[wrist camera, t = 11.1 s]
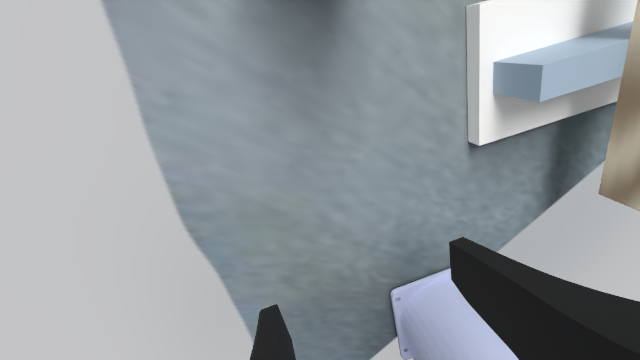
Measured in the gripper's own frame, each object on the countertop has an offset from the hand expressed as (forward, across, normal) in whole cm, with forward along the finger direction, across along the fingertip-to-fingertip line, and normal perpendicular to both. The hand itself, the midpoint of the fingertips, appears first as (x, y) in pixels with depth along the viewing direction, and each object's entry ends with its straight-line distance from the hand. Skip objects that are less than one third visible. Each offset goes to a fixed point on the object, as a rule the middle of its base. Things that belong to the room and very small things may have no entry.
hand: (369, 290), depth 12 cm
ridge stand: (+10, -20, -4) cm, 23 cm away
